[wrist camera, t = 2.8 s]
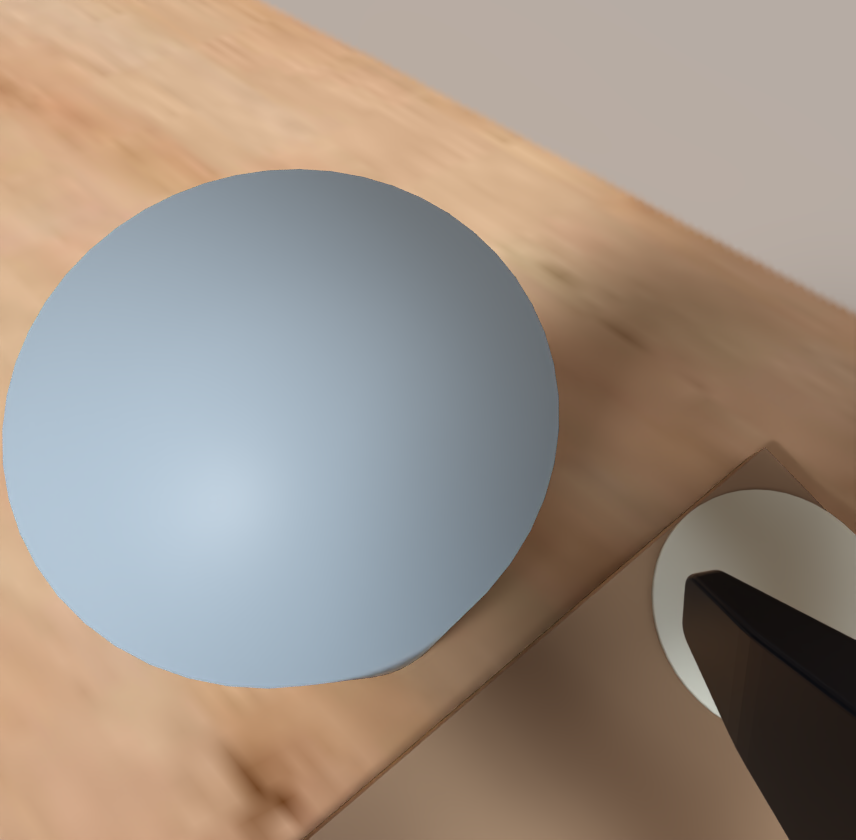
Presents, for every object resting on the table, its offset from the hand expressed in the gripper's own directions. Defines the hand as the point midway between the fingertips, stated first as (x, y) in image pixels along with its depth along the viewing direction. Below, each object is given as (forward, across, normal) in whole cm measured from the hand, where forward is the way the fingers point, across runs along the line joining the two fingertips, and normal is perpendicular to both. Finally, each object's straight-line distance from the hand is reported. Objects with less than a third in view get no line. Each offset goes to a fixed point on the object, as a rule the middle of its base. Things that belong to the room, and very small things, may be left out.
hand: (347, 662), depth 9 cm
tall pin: (+8, 0, +5) cm, 10 cm away
